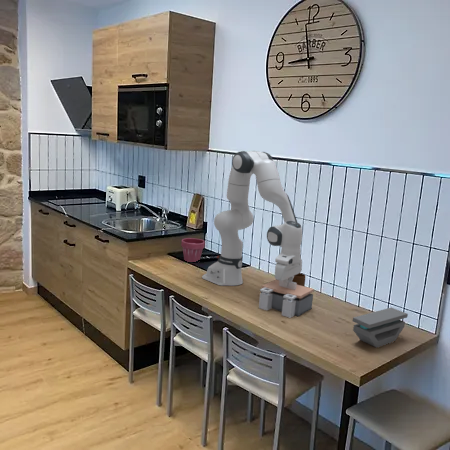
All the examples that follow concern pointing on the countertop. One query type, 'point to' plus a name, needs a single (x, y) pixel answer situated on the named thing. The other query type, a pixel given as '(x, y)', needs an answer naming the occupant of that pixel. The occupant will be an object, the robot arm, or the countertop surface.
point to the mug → (299, 279)
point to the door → (287, 289)
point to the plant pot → (192, 249)
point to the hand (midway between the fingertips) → (287, 285)
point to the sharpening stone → (379, 326)
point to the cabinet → (285, 303)
